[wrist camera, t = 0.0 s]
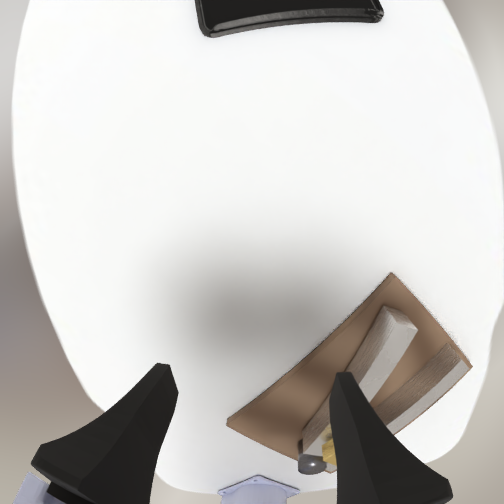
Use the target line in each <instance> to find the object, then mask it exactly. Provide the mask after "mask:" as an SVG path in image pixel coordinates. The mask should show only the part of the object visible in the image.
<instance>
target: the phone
mask: <svg viewBox="0 0 504 504" xmlns="http://www.w3.org/2000/svg"><path fill="white" fill-rule="evenodd" d="M195 5H196V11H197V17H198V23H199V27H200V30H201V31H202V33H203V34H204V35H205V36H207V37H211V38H215V37H221V36H225V35H229V34H234V33H239V32H244V31H249V30H255V29H261V28H268V27H275V26H283V25H293V24H304V23H322V22H364V23H377V22H379V21H380V20H381V19H382V17H383V16H384V11H383V8H382V6H381V4H380V2H379V0H195Z"/></svg>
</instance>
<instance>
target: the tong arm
mask: <svg viewBox="0 0 504 504" xmlns="http://www.w3.org/2000/svg"><path fill="white" fill-rule="evenodd" d="M417 331H418V329H417V328H416V327H415V326H414V325H413V323H412V322H411V321H410V320H409V319H408V317H407V316H406V315H405V314H404V313H403V312H401V311H399V310H396V309H393V308H390V307H387V306H385V305H383V307H382V309H381V311H380V312H379V314H378V316H377V318H376V320H375V322H374V324H373V325H372V327H371V329H370V331H369V333H368V334H367V336H366V338H365V340H364V341H363V343H362V345H361V346H360V348H359V350H358V351H357V353H356V355H355V356H354V358H353V360H352V361H351V363H350V364H349V366H348V368H347V369H346V371H345V372H351V373H352V374H353V376H354V378H355V380H356V381H357V383H358V385H359V387H360V388H361V390H362V392H363V393H364V395H365V397H366V398H367V400H368V401H369V402H370V401H371V400H372V399H373V397H374V396H375V395H376V393H377V392H378V391H379V389H380V388H381V386H382V385H383V384H384V382H385V381H386V380H387V378H388V377H389V375H390V374H391V372H392V371H393V369H394V368H395V366H396V365H397V363H398V362H399V360H400V359H401V357H402V356H403V354H404V353H405V351H406V349H407V348H408V346H409V344H410V343H411V341H412V340H413V338H414V336H415V334H416V333H417ZM330 395H331V393H330ZM330 395H329V396H328V397H327V399H326V400H325V402H324V403H323V404H322V406H321V407H320V409H319V410H318V411H317V413H316V414H315V415H314V417H313V418H312V419H311V421H310V422H309V423H308V425H307V426H306V427H305V428H304V430H303V431H302V435H303V454H309V455H316V456H323V455H322V445H323V444H325V443H326V442H328V441H330V440H331V439H333V437H332V431H331V424H330V413H329V398H330Z"/></svg>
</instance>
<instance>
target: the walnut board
mask: <svg viewBox="0 0 504 504" xmlns="http://www.w3.org/2000/svg"><path fill="white" fill-rule="evenodd" d="M383 305H385V306H387V307H390V308H393V309H396V310H399V311H401V312H403V313H404V314H405V315H406V316H407V317H408V319H409V320H410V321H411V322H412V323H413V325H414V326H415V327H416V328H417V329H418V331H417V333H416V334H415V336H414V338H413V340H412V341H411V343H410V344H409V346H408V348H407V349H406V351H405V353H404V354H403V356H402V357H401V359H400V360H399V362H398V363H397V365H396V366H395V368H394V369H393V371H392V372H391V374H390V375H389V377H388V378H387V380H386V381H385V382H384V384H383V385H382V386H381V388H380V389H379V391H378V392H377V393H376V395H375V396H374V397H373V399H372V400H371V401H370V402H369V403H370V404H371V406H372V407H373V409H374V408H375V407H376V406H378V405H379V404H380V403H381V402H383V401H384V400H385V399H386V398H388V397H389V396H390V395H391V394H393V393H394V392H395V391H396V390H397V389H399V388H400V387H401V386H402V385H403V384H404V383H406V382H407V381H408V380H409V379H410V378H411V377H412V376H413V375H414V374H416V373H417V372H418V371H419V370H420V369H421V368H422V367H423V366H424V365H425V364H426V363H427V362H428V361H429V360H430V359H431V358H432V357H433V356H434V355H435V354H436V353H437V352H438V351H439V350H440V349H441V348H442V347H443V346H444V345H445V344H446V343H448V344H449V345H450V346H451V347H452V349H453V350H454V351H455V352H456V353H457V354H458V355H459V357H460V358H461V359H462V360H463V361H464V363H465V364H466V365H467V366H468V368H469V370H470V369H471V368H472V367H473V366H472V365H471V363H470V362H469V361H468V360H467V358H466V357H465V356H464V354H463V353H462V352H461V351H460V349H459V348H458V347H457V346H456V344H455V343H454V342H453V341H452V339H451V338H450V337H449V336H448V334H447V333H446V332H445V331H444V330H443V328H442V327H441V326H440V325H439V324H438V323H437V321H436V320H435V319H434V318H433V317H432V316H431V314H430V313H429V312H428V311H427V310H426V309H425V308H424V306H423V305H422V304H421V303H420V302H419V301H418V300H417V299H416V297H415V296H414V295H413V294H412V293H411V292H410V291H409V290H408V289H407V288H406V287H405V285H404V284H403V283H402V282H401V281H400V280H399V279H398V278H397V277H396V276H395V275H394V274H393V273H390V274H389V276H388V277H387V278H386V279H385V280H384V281H383V282H382V283H381V284H380V285H379V287H378V288H377V289H376V290H375V291H374V292H373V293H372V294H371V295H370V296H369V297H368V298H367V299H366V300H365V301H364V302H363V303H362V304H361V305H360V306H359V308H358V309H357V310H356V311H355V312H354V313H353V314H352V315H351V316H350V317H349V318H348V319H347V320H346V321H344V322H343V323H342V324H341V325H340V326H339V327H338V328H337V329H336V330H335V331H334V332H333V333H332V334H331V335H330V336H329V337H328V338H327V339H326V340H324V341H323V342H322V343H321V344H320V345H319V346H318V347H317V348H316V349H315V350H314V351H312V352H311V353H310V354H309V355H308V356H307V357H306V358H304V359H303V360H302V361H301V362H300V363H299V364H298V365H296V366H295V367H294V368H293V369H292V370H290V371H289V372H288V373H287V374H286V375H284V376H283V377H282V378H281V379H280V380H278V381H277V382H276V383H275V384H273V385H272V386H271V387H270V388H268V389H267V390H266V391H265V392H263V393H262V394H261V395H259V396H258V397H257V398H255V399H254V400H253V401H252V402H250V403H249V404H248V405H246V406H245V407H243V408H242V409H241V410H239V411H238V412H237V413H235V414H234V415H232V416H231V417H230V418H228V420H227V424H226V426H228V427H230V428H231V429H233V430H235V431H237V432H239V433H241V434H242V435H244V436H246V437H248V438H250V439H252V440H254V441H256V442H258V443H260V444H262V445H264V446H266V447H268V448H270V449H272V450H274V451H277V452H279V453H281V454H283V455H285V456H288V457H290V458H292V459H295V460H297V461H298V442H299V441H300V440H301V439H303V435H302V431H303V430H304V428H305V427H306V426H307V425H308V423H309V422H310V421H311V419H312V418H313V417H314V415H315V414H316V413H317V411H318V410H319V409H320V407H321V406H322V404H323V403H324V402H325V400H326V399H327V397H328V396H329V395H330V393H331V391H332V388H333V384H334V380H335V376H336V373H337V372H345V371H346V369H347V368H348V366H349V364H350V363H351V361H352V360H353V358H354V356H355V355H356V353H357V351H358V350H359V348H360V346H361V345H362V343H363V341H364V340H365V338H366V336H367V334H368V333H369V331H370V329H371V327H372V325H373V324H374V322H375V320H376V318H377V316H378V314H379V312H380V311H381V309H382V307H383ZM469 370H468V371H469ZM468 371H467V372H468ZM467 372H466V373H467ZM466 373H465V374H466ZM465 374H464V375H465ZM464 375H463V376H464ZM463 376H462V377H463ZM462 377H461V378H462ZM461 378H460V379H461ZM460 379H459V380H460ZM459 380H458V381H459ZM458 381H457V382H458ZM457 382H456V383H457ZM456 383H455V384H456ZM455 384H454V385H455ZM454 385H453V386H454ZM453 386H452V387H453ZM452 387H451V388H452ZM451 388H449V389H448V390H447V391H446V392H445V393H444V394H443V395H442V396H441V397H443V396H444V395H445V394H446V393H447V392H448V391H449V390H450V389H451ZM441 397H440V398H441ZM440 398H439V399H440ZM439 399H437V400H436V401H435V402H434V403H433V404H435V403H436V402H437V401H438V400H439ZM433 404H432V405H433ZM432 405H430V406H429V407H428V408H427V409H426V410H428V409H429V408H430V407H431V406H432ZM426 410H425V411H426ZM425 411H423V412H422V413H421V414H423V413H424V412H425ZM421 414H420V415H421ZM420 415H418V416H417V417H416V418H418V417H419V416H420ZM416 418H415V419H416ZM415 419H413V420H412V421H411V422H413V421H414V420H415ZM411 422H409V423H408V424H407V425H409V424H410V423H411ZM407 425H405V426H404V427H403V428H405V427H406V426H407ZM403 428H401V429H400V430H399V431H401V430H402V429H403ZM399 431H397V432H396V433H398V432H399ZM396 433H395V434H396ZM395 434H393V435H395ZM324 471H325V472H328V473H333V472H335V471H337V469H336V470H334V471H332V472H330V471H328V470H324Z"/></svg>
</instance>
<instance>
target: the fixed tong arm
mask: <svg viewBox="0 0 504 504" xmlns="http://www.w3.org/2000/svg"><path fill="white" fill-rule="evenodd" d="M468 370H469V368H468V366H467V365H466V364H465V363H464V361H463V360H462V359H461V358H460V357H459V355H458V354H457V353H456V352H455V351H454V350H453V349H452V347H451V346H450V345H449V344H448V343H446V344H445V345H444V346H443V347H442V348H441V349H440V350H439V351H438V352H437V353H436V354H435V355H434V356H433V357H432V358H431V359H430V360H429V361H428V362H427V363H426V364H425V365H424V366H423V367H422V368H421V369H420V370H419V371H418V372H417V373H416V374H414V375H413V376H412V377H411V378H410V379H409V380H408V381H407V382H406V383H404V384H403V385H402V386H401V387H400V388H399V389H397V390H396V391H395V392H394V393H393V394H391V395H390V396H389V397H388V398H386V399H385V400H384V401H383V402H381V403H380V404H379V405H378V406H376V407H375V408H374V410H375V412H376V413H377V415H378V416H379V417H380V419H381V420H382V421H383V423H384V424H385V425H386V427H387V428H388V429H389V430H390V431H391V433H392V434H395V433H396V432H397V431H399V430H400V429H401V428H403V427H404V426H405V425H407V424H408V423H409V422H411V421H412V420H413V419H415V418H416V417H417V416H418V415H420V414H421V413H422V412H423V411H425V410H426V409H427V408H428V407H429V406H430V405H432V404H433V403H434V402H435V401H436V400H437V399H439V398H440V397H441V396H442V395H443V394H444V393H445V392H446V391H447V390H448V389H449V388H451V387H452V386H453V385H454V384H455V383H456V382H457V381H458V380H459V379H460V378H461V377H462V376H463V375H464V374H465V373H466V372H467V371H468ZM336 469H337V466H335V465H333V464H330V463H327V462H325V461H323V456H316V455H309V454H303V439H301V440H300V441H299V442H298V471H299V472H300V473H302V474H306V475H313V474H318V473H321V472H323V471H324V470H328V471H330V472H332V471H334V470H336Z"/></svg>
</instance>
